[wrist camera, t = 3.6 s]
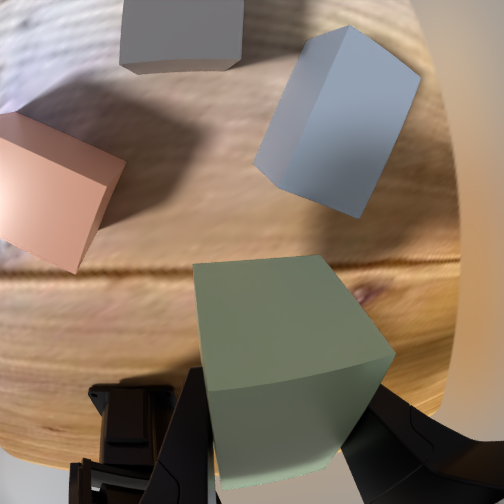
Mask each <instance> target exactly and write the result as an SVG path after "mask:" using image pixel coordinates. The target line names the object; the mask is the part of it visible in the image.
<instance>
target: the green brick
mask: <svg viewBox="0 0 504 504" xmlns="http://www.w3.org/2000/svg"><path fill="white" fill-rule="evenodd" d="M193 277H194V290H195V303H196V314H197V325H198V336H199V346H200V355H201V364H202V367H203V374H204V380H205V387H206V393H207V400H208V406H209V413H210V420H211V427H212V434H213V445H214V450H215V456H216V461H217V466H218V471H219V476H220V481H221V486H222V490H228V489H236V488H243V487H249V486H255V485H260V484H265V483H271V482H276V481H280V480H285V479H289V478H293V477H297V476H300V475H305V474H308V473H312V472H315V471H319V470H322V469H325V468H326V466H327V465H328V464H329V462H330V461H331V460H332V458H333V457H334V456H335V454H336V453H337V451H338V450H339V449H340V447H341V446H342V444H343V443H344V441H345V440H346V439H347V437H348V436H349V434H350V433H351V431H352V430H353V428H354V427H355V425H356V423H357V422H358V420H359V419H360V417H361V416H362V414H363V412H364V411H365V409H366V407H367V406H368V404H369V402H370V401H371V399H372V397H373V396H374V394H375V392H376V390H377V389H378V387H379V385H380V383H381V382H382V380H383V378H384V376H385V374H386V372H387V370H388V369H389V367H390V365H391V363H392V361H393V359H394V357H395V355H396V353H395V351H394V350H393V348H392V347H391V346H390V344H389V343H388V342H387V340H386V339H385V338H384V336H383V335H382V334H381V332H380V331H379V329H378V328H377V327H376V325H375V324H374V323H373V321H372V320H371V319H370V317H369V316H368V315H367V314H366V312H365V311H364V310H363V308H362V307H361V306H360V304H359V303H358V302H357V300H356V299H355V298H354V297H353V295H352V294H351V293H350V291H349V290H348V289H347V288H346V286H345V285H344V284H343V283H342V281H341V280H340V279H339V277H338V276H337V275H336V274H335V272H334V271H333V270H332V269H331V267H330V266H329V265H328V264H327V262H326V261H325V260H324V259H323V257H322V256H321V255H309V256H296V257H283V258H270V259H256V260H242V261H228V262H214V263H200V264H193Z"/></svg>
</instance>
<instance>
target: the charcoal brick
mask: <svg viewBox="0 0 504 504" xmlns="http://www.w3.org/2000/svg"><path fill="white" fill-rule="evenodd" d="M243 15H244V0H124V5H123V15H122V26H121V40H120V59H119V65H121V66H123V67H124V68H126V69H128V70H130V71H132V72H134V73H135V74H137V75H141V74H152V73H166V72H187V71H225V70H227V69H228V68H230V67H231V66H233V65H234V64H235V63H237V62H239V61H240V60H241V55H242V34H243Z"/></svg>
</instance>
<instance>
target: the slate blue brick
mask: <svg viewBox="0 0 504 504" xmlns="http://www.w3.org/2000/svg"><path fill="white" fill-rule="evenodd" d="M420 80H421V77H419V76H418V75H417V74H416V73H415V72H414V71H412V70H411V69H410V68H409V67H407V66H406V65H405V64H404V63H403V62H401V61H400V60H399V59H397V58H396V57H395V56H394V55H392V54H391V53H390V52H388V51H387V50H386V49H384V48H383V47H382V46H380V45H379V44H377V43H376V42H375V41H373V40H372V39H370V38H369V37H367V36H366V35H364V34H363V33H361V32H360V31H358V30H357V29H355V28H354V27H352V26H351V25H348V26H345V27H342V28H339V29H336V30H333V31H330V32H328V33H325V34H322V35H319V36H317V37H314V38H311V39H309V40H307V41H306V43H305V45H304V47H303V49H302V52H301V54H300V56H299V58H298V60H297V63H296V65H295V67H294V69H293V72H292V74H291V76H290V78H289V80H288V83H287V85H286V87H285V90H284V92H283V94H282V96H281V99H280V101H279V103H278V106H277V108H276V110H275V112H274V115H273V117H272V119H271V122H270V124H269V126H268V129H267V131H266V134H265V136H264V138H263V141H262V143H261V145H260V148H259V150H258V153H257V155H256V157H255V160H254V162H253V164H254V165H255V166H256V167H257V168H258V169H259V170H260V171H261V172H262V173H263V174H264V175H265V176H266V177H267V178H268V179H269V180H270V181H271V182H272V183H273V184H275V185H276V186H277V187H278V188H279V189H282V190H285V191H287V192H290V193H293V194H295V195H298V196H301V197H303V198H306V199H309V200H311V201H314V202H317V203H319V204H322V205H324V206H327V207H329V208H332V209H334V210H337V211H339V212H342V213H344V214H347V215H349V216H352V217H354V218H356V219H360V217H361V215H362V213H363V211H364V209H365V207H366V205H367V203H368V201H369V199H370V196H371V194H372V192H373V190H374V188H375V186H376V184H377V182H378V180H379V178H380V175H381V173H382V171H383V169H384V167H385V165H386V162H387V160H388V158H389V156H390V154H391V151H392V149H393V147H394V144H395V142H396V140H397V138H398V135H399V133H400V130H401V128H402V126H403V123H404V121H405V118H406V116H407V114H408V111H409V109H410V106H411V104H412V101H413V98H414V96H415V93H416V91H417V88H418V85H419V83H420Z"/></svg>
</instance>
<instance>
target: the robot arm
mask: <svg viewBox="0 0 504 504" xmlns="http://www.w3.org/2000/svg"><path fill="white" fill-rule="evenodd" d="M88 395H89V397H90V399H91V400H92V402H93V404H94V405H95V407H96V409H97V410H98V412H99V413H100V415H101V416H102V424H101V438H100V457H99V463H97V462H93V461H91V460H90V459H87V458H83V459H82V463H79V462H78V463H70V477H69V504H222V503H221V501H220V499H219V497H218V495H217V492H216V490H215V472H214V448H213V434H212V427H211V420H210V413H209V406H208V400H207V393H206V387H205V380H204V374H203V367H202V366H192V367H190V368H189V371H188V373H187V376H186V379H185V382H184V384H183V387H182V390H181V393H180V396H179V398H178V401H177V397H176V393H175V389H174V388H173V387H171V386H154V387H90V388H89V390H88ZM340 448H341V450H342V452H343V455H344V457H345V459H346V462H347V464H348V466H349V469H350V471H351V473H352V476H353V478H354V481H355V483H356V485H357V488H358V490H359V492H360V495H361V497H362V500H363V502H364V504H504V441H487V442H484V441H476V440H473V439H470V438H468V437H465V436H463V435H461V434H460V433H458V432H456V431H454V430H452V429H450V428H448V427H446V426H444V425H442V424H440V423H439V422H437V421H435V420H433V419H431V418H430V417H428V416H427V415H425V414H424V413H422V412H421V411H419V410H418V409H416V408H415V407H413V406H412V405H410V404H409V403H407V402H406V401H405V400H403V399H402V398H400V397H399V396H397V395H396V394H395V393H393V392H392V391H390V390H389V389H387V388H386V387H385V386H383V385H382V384H380V385H379V387H378V389H377V390H376V392H375V394H374V396H373V397H372V399H371V401H370V402H369V404H368V406H367V407H366V409H365V411H364V412H363V414H362V416H361V417H360V419H359V420H358V422H357V423H356V425H355V427H354V428H353V430H352V431H351V433H350V434H349V436H348V437H347V439H346V440H345V441H344V443H343V444H342V446H341V447H340ZM91 486H92V487H97V488H100V491H94V490H91Z"/></svg>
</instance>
